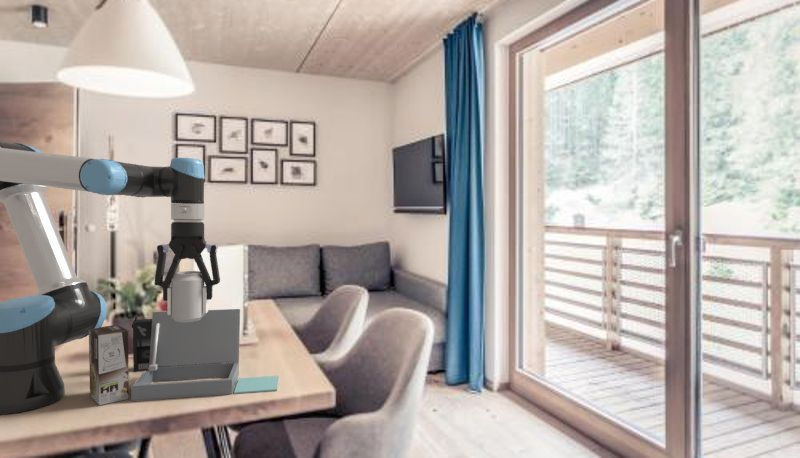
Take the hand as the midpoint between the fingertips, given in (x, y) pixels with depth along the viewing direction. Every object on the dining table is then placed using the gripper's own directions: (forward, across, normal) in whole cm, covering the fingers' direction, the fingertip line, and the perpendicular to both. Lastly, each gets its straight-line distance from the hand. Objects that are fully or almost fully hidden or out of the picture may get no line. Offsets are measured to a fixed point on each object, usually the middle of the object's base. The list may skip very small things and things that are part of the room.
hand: (188, 313), depth 118 cm
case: (+19, 0, +2) cm, 19 cm away
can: (+2, 0, 0) cm, 2 cm away
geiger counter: (+19, -13, +18) cm, 29 cm away
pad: (+19, +17, -2) cm, 25 cm away
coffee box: (+19, -17, -3) cm, 25 cm away
